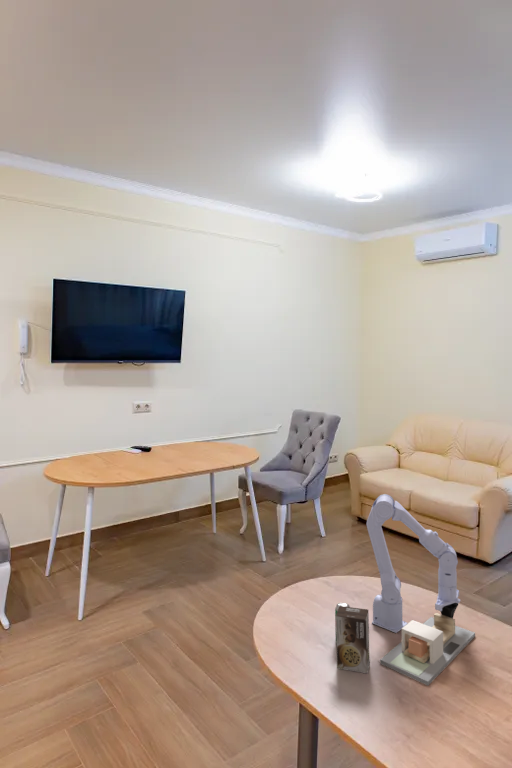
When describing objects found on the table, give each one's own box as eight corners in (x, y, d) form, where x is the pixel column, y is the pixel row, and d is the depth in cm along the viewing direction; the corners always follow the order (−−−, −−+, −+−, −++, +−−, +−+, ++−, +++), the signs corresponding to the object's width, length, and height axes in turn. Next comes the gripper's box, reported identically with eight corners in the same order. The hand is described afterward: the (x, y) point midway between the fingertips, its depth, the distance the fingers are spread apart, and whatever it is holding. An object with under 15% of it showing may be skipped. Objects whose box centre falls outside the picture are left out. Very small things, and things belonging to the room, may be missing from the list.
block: (408, 652, 149) (408, 639, 149) (414, 646, 152) (414, 633, 152) (421, 657, 146) (421, 644, 146) (427, 651, 149) (427, 638, 149)
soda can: (351, 647, 156) (350, 610, 156) (335, 646, 157) (334, 609, 157) (351, 638, 161) (351, 602, 161) (335, 637, 162) (335, 601, 162)
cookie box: (370, 661, 149) (369, 609, 148) (367, 674, 143) (367, 619, 142) (339, 656, 152) (339, 604, 151) (336, 668, 146) (335, 615, 145)
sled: (404, 654, 149) (404, 639, 149) (436, 626, 165) (436, 612, 165) (424, 663, 145) (424, 647, 145) (455, 633, 161) (455, 619, 160)
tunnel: (401, 650, 152) (401, 628, 152) (412, 641, 157) (412, 619, 157) (433, 664, 145) (432, 640, 145) (443, 654, 150) (443, 631, 150)
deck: (380, 663, 148) (380, 659, 148) (431, 620, 172) (431, 616, 172) (428, 685, 137) (428, 681, 137) (475, 636, 161) (475, 632, 161)
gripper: (450, 595, 155) (450, 637, 156) (468, 580, 166) (468, 619, 166) (428, 588, 160) (428, 629, 161) (447, 574, 171) (447, 612, 171)
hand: (447, 623), depth 164 cm, fingers closed
